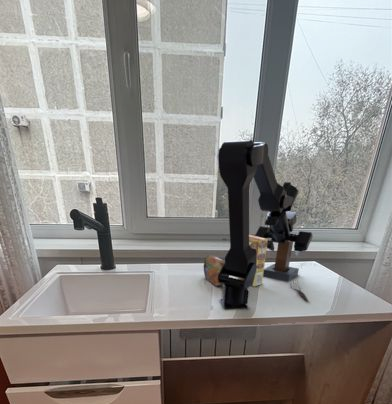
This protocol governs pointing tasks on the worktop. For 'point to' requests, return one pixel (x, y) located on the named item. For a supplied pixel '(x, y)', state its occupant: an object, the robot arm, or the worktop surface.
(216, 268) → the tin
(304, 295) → the fork
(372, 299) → the worktop surface
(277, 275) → the base pad
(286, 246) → the walnut post
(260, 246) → the candy box
